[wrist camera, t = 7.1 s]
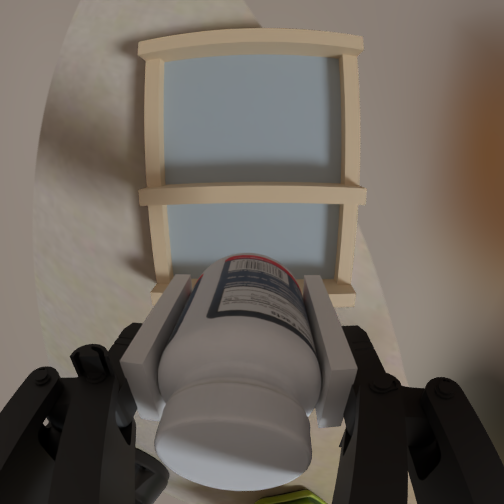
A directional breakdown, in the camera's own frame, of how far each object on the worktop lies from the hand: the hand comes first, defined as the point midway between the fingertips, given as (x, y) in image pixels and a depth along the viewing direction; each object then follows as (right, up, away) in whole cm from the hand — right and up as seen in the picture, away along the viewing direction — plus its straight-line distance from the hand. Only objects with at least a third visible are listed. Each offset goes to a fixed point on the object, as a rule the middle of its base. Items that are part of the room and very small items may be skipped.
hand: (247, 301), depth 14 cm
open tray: (0, +9, +9) cm, 13 cm away
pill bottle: (0, 0, 0) cm, 1 cm away
